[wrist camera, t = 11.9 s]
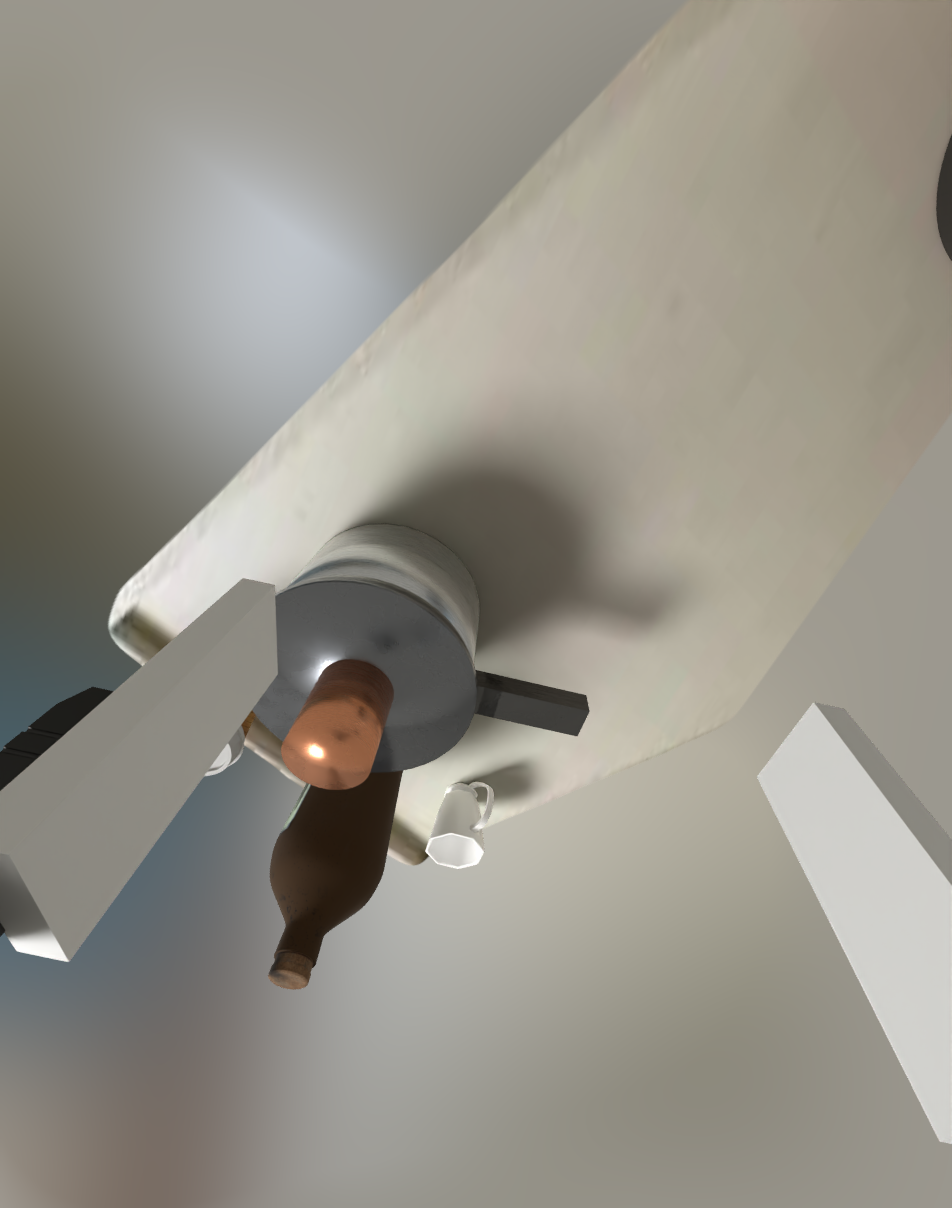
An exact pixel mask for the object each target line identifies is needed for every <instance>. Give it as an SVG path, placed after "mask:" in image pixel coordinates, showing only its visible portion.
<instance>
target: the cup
mask: <svg viewBox="0 0 952 1208" xmlns="http://www.w3.org/2000/svg"><path fill="white" fill-rule="evenodd" d="M476 787H485V788H487V792H488V796H487V803H486V807H485V811H484V813H483V815H482V817H481V814H480V809H479V805H478V801H477V800H476V798H477V796H478V793H477V792H476V791H475V788H476ZM444 796H445V797H444V800H443V802H442V804H441V806H440V809H439V811H438V814H437V816H436V819H435V823H434V826H433V829H432V832H431V835H430V838H429V841H428V844H427V848H426V853H427V854H428V855H429V856H430V857H431V858H432V859H433V860H434V861H435V862H436V863H437V864H440V865H444V866H449V867H452V868H457V869H460V868H464V867H468V866H472V865H476V864H478V862H479V861H480V859H481V857H482V855H483V853H484V842H483V833H482V828H483V827H484V826H485V824H486V823H487V821H488V819H489V817H490V815H491V812H492V807H493V802H494V792H493V789H492V788H491V787H490V786H489V785H487V784H485V783H482V782H472V783H471V784H469V785H467V784H463V783H456V784H453V785H449V786H448V787H447V790H446V792H445V795H444Z"/></svg>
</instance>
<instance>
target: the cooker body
mask: <svg viewBox="0 0 952 1208" xmlns="http://www.w3.org/2000/svg"><path fill="white" fill-rule="evenodd" d="M324 577H354V578H361V579H367V580H373V581H377V582H380V583H383V584H387V585H390V586H393V587H395V588H398V589H400V590H402V591H405V592H407V593H409V594H411V595H413V596H414V597H416V598H418V599H420V600H422V601H423V602H425V603H426V604H427V605H429V606H430V607H431V608H433V609H434V610H436V611H437V612H438V613H439V614H440V615H441V616H442V617H443V618H445V619H446V620H447V621H448V622H449V623H450V625H451V626H452V627H453V628H454V629H455V630H456V632H457V633H458V634H459V636H460V637H461V639H462V640H463V642H464V643H465V645H466V647H467V649H468V651H469V653H470V655H471V657H472V660H473V663H474V658H475V650H476V641H477V633H478V624H479V612H480V606H479V597H478V593H477V589H476V586H475V584H474V581H473V579H472V577H471V575H470V573H469V572H468V570H467V568H466V567H465V566H464V564H463V563H462V562H461V560H460V559H459V558H458V557H457V556H456V555H455V554H454V553H453V552H452V551H451V550H450V549H449V548H447V547H446V546H445V545H443V544H442V543H441V542H439V541H438V540H436V539H434V538H433V537H431V536H429V535H427V534H425V533H422V532H420V531H418V530H415V529H412V528H408V527H405V526H399V525H394V524H369V525H364V526H359V527H355V528H352V529H349V530H346V531H344V532H342V533H341V534H339V535H337V536H335V537H334V538H332V539H331V540H330V541H328V542H327V543H326V544H325V545H324V546H323V547H322V548H321V549H320V550H319V551H318V552H317V554H316V555H315V556H314V557H313V558H312V559H311V560H310V562H309V563H308V564H307V565H306V566H305V567H304V568H303V570H302V571H301V572H300V573H299V574H298V575H297V576H296V578H295V579H294V580H293V581H292V582H291V583H290V584H289V586H288V587H290V586H292V585H295V584H298V583H301V582H304V581H307V580H312V579H317V578H324ZM288 587H287V588H288ZM476 677H477V699H476V706H475V711H474V713H475V714H480V715H484V716H489V717H493V718H497V719H502V720H506V721H511V722H515V723H520V724H524V725H529V726H533V727H538V728H542V729H547V730H551V731H556V732H560V733H565V734H569V735H574V736H578V734H579V732H580V730H581V728H582V726H583V724H584V722H585V720H586V718H587V715H588V713H589V707H588V702H587V697H586V695H583V694H578V693H574V692H569V691H565V690H561V689H556V688H552V687H548V686H543V685H539V684H534V683H530V682H526V681H521V680H517V679H513V678H508V677H504V676H499V675H495V674H491V673H486V672H482V671H478V670H476Z"/></svg>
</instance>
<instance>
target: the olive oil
mask: <svg viewBox="0 0 952 1208" xmlns="http://www.w3.org/2000/svg"><path fill="white" fill-rule="evenodd" d="M402 773H403V770H402V771H395V772H379V773H372V772H370V774H369V776H368V777H367V779H366V780H365V781H364V782H363V783H361V784H359V785H358V786H355V787H353V788H349V789H343V790H330V789H323V788H319V787H316V786H313V785H311V784H308V783H307V784H306V786H305V787H304V789H303V791H302V793H301V795H300V797H299V799H298V801H297V803H296V805H295V807H294V808H293V810H292V812H291V814H290V816H289V818H288V820H287V822H286V824H285V825H284V827H283V829H282V831H281V833H280V835H279V837H278V839H277V842H276V844H275V847H274V850H273V854H272V859H271V866H270V882H271V886H272V889H273V892H274V895H275V897H276V900H277V902H278V905H279V907H280V910H281V912H282V915H283V917H284V920H285V923H286V927H285V930H284V933H283V935H282V937H281V940H280V942H279V945H278V947H277V950H276V952H275V954H274V958H275V962H274V964H273V965H272V967H271V970H270V972H269V975H268V977H269V979H270V980H271V981H272V982H273V983H274V984H276V985H277V986H280V987H283V988H287V989H301V988H304V987H306V986H307V985H308V982H309V979H310V976H311V973H310V972H311V969H312V968H313V967H314V966H315V965H316V961H317V958H318V954H319V951H320V947H321V944H322V940H323V937H324V935H325V934H326V933H327V932H329V931H330V930H331V929H333V928H334V927H335V926H337V925H339V924H340V923H341V922H343V921H345V920H346V919H348V918H349V917H350V916H352V915H353V914H355V913H356V912H357V911H359V910H360V909H361V908H362V907H363V906H364V905H365V904H366V903H367V902H368V901H369V899H370V898H371V897H372V895H373V893H374V892H375V890H376V888H377V886H378V884H379V882H380V880H381V877H382V875H383V871H384V867H385V862H386V856H387V851H388V845H389V840H390V834H391V829H392V823H393V818H394V813H395V808H396V802H397V797H398V792H399V787H400V782H401V777H402Z"/></svg>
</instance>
